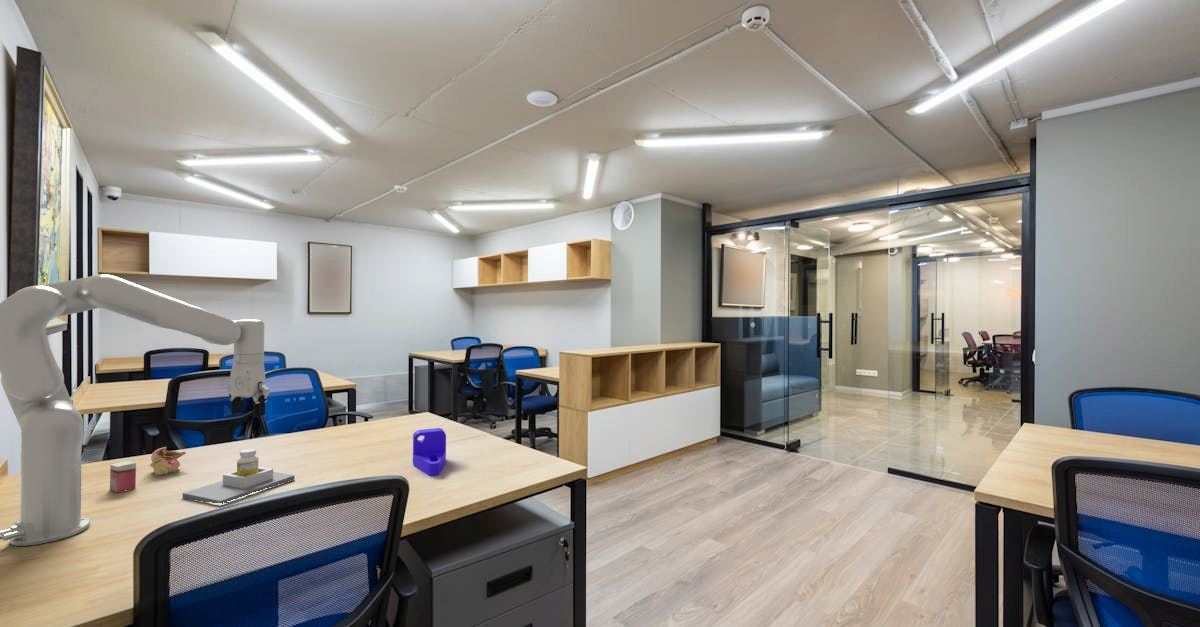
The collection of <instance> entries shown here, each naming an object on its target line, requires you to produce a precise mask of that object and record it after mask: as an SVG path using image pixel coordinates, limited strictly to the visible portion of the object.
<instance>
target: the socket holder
mask: <svg viewBox="0 0 1200 627" xmlns="http://www.w3.org/2000/svg"><path fill="white" fill-rule="evenodd" d="M294 479H295V474H288V473H283V472H277V471H274V468H269V467H265V466H262V467H261V466H258V473H255V474H252V475H249V476H246V477H244V476H238V475H237V470H233V471H230V472H227V473H224V474H222V480H221V481H216V482H215V483H214V482H213V483H211V484H210V483H209V484H207V485H203V486H200V487H198V488H194V489H191V490H188V491H185V492H182V499H185V500H190V501H193V500H197V501H196V502H198V501H203V502H212V503H222V504H223V502H224V503H228V504H230V503H229V502H227V501H231V500H233V499H237V498H239V497H242V496H245V495H248V494H250V493H252V492H256V491H260V490H263V489H265V488H269V487H273V486H276V485H278V484H282V483H285V484H287V483H286V482H288V481H290V480H293V481H295V480H294ZM290 482H291V481H290ZM288 483H289V482H288ZM282 485H283V484H282ZM276 487H277V486H276ZM273 488H274V487H273Z"/></svg>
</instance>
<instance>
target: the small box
mask: <svg viewBox="0 0 1200 627" xmlns="http://www.w3.org/2000/svg"><path fill="white" fill-rule="evenodd" d="M109 470H110V471H109V472H110V473H109V478H110V479H109V490H110V491H111V490H112V492H114V491H115V493H116V492H119V493H122V492H121V491H123V492H126V491H125V490H128V491H130V489H131V490H134V488H135V489H136V487H137V486H136V482H137V481H136V480H137V477H136V476H137V463H136V462H134V461H131V460H125V461H121V462H117V463H112V464H110V468H109Z"/></svg>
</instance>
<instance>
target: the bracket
mask: <svg viewBox="0 0 1200 627" xmlns="http://www.w3.org/2000/svg"><path fill="white" fill-rule="evenodd" d="M421 436H423V439H419V438H420V437H421ZM446 462H447V434H446V432H445V431H444V429H443V428H440V427H435V428H425V429H418V430H415V431H414V432H413V434H412V465H413V467H414V468H416V469H418V470H419V471H421V472H422V473H424V474H426V475H427V476H429V477H437V476H439V475H440V474H441V473H442V471H443V469H444V467H445V465H446Z"/></svg>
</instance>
